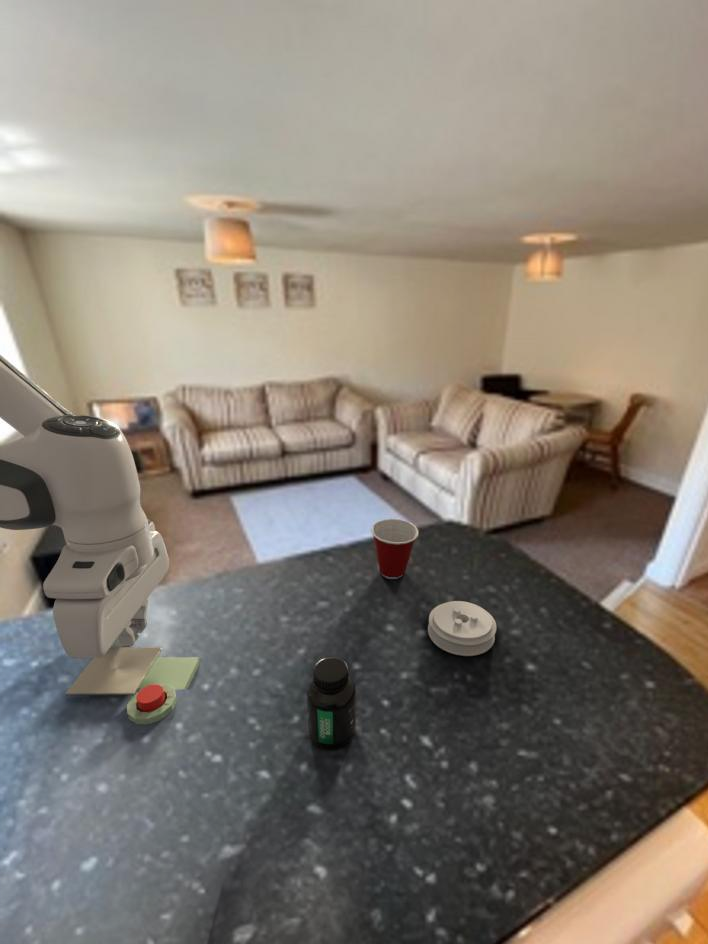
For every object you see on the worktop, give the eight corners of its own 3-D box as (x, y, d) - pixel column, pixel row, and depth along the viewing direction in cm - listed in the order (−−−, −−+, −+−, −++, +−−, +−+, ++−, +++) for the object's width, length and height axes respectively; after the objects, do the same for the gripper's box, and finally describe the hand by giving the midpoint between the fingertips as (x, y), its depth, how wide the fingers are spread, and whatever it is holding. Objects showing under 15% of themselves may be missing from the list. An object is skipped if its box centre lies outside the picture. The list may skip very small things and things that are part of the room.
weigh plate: (66, 695, 67) (65, 693, 67) (102, 648, 76) (101, 647, 76) (134, 695, 67) (133, 693, 67) (162, 649, 76) (161, 647, 76)
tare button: (133, 712, 65) (131, 703, 64) (145, 692, 68) (143, 684, 67) (159, 712, 65) (157, 703, 64) (169, 692, 68) (167, 684, 68)
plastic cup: (383, 591, 99) (385, 544, 94) (362, 568, 107) (362, 523, 102) (424, 579, 104) (428, 533, 99) (400, 558, 112) (403, 515, 107)
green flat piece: (53, 734, 64) (47, 719, 63) (106, 662, 77) (102, 648, 76) (168, 733, 65) (164, 718, 64) (201, 662, 78) (199, 649, 77)
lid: (507, 648, 83) (511, 626, 81) (450, 668, 78) (453, 646, 76) (468, 609, 94) (471, 590, 92) (415, 625, 89) (417, 604, 87)
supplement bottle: (331, 761, 62) (329, 697, 57) (299, 732, 66) (294, 670, 61) (365, 729, 66) (366, 668, 61) (333, 704, 70) (331, 645, 65)
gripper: (127, 512, 65) (145, 592, 71) (30, 595, 46) (66, 693, 52) (171, 513, 65) (186, 592, 71) (93, 595, 47) (121, 693, 52)
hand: (134, 636), depth 61 cm, fingers closed
